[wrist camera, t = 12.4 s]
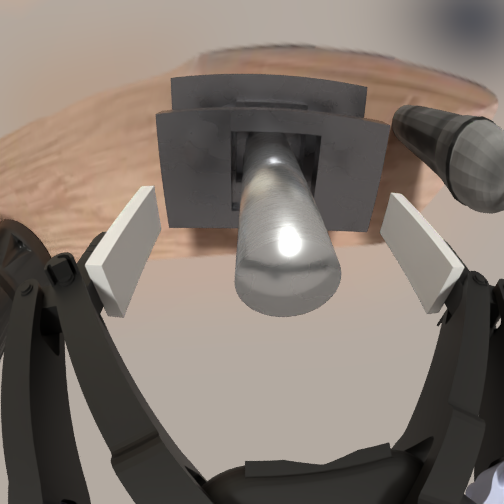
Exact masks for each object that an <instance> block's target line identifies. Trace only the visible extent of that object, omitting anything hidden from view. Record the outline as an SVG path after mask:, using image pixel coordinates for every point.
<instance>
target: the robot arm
mask: <svg viewBox="0 0 504 504" xmlns="http://www.w3.org/2000/svg"><path fill="white" fill-rule="evenodd" d="M160 231H161V224H160V218H159V213H158V207H157V201H156V194H155V187H154V186H141V188H140V189H139V190H138V191H137V192H136V194H135V195H134V196H133V197H132V199H131V200H130V201H129V203H128V204H127V205H126V206H125V208H124V209H123V210H122V212H121V213H120V214H119V216H118V217H117V218H116V220H115V221H114V223H113V224H112V225H111V227H110V228H109V229H108V231H107V232H102V233H100V234H99V235H98V236H96V237H95V238H94V239H93V241H92V242H91V243H90V245H89V247H88V248H87V249H86V251H85V252H84V254H83V255H82V256H81V258H80V259H79V261H78V262H77V264H76V262H75V259H74V257H73V255H72V254H71V253H68V252H67V253H60V254H58V255H56V256H54V257H52V258H50V256H49V254H48V252H47V250H46V249H45V247H44V246H43V244H42V243H41V241H40V240H39V239H38V238H37V237H36V236H35V235H34V233H33V232H31V231H30V230H29V229H28V228H27V227H26V226H24V225H23V224H21V223H19V222H17V221H14V220H4V221H2V222H1V223H0V359H1V357H2V355H3V353H4V358H3V369H2V385H1V419H2V420H1V422H2V438H3V448H4V455H5V462H6V469H7V475H8V480H9V486H8V504H91V502H90V497H89V492H88V489H87V485H86V481H85V478H84V475H83V471H82V467H81V463H80V459H79V455H78V451H77V447H76V442H75V437H74V432H73V426H72V420H71V414H70V407H69V400H68V391H67V380H66V366H65V342H66V345H67V349H68V352H69V355H70V359H71V362H72V365H73V367H74V370H75V373H76V376H77V379H78V382H79V384H80V387H81V389H82V392H83V394H84V397H85V399H86V402H87V404H88V406H89V409H90V411H91V413H92V415H93V417H94V420H95V422H96V424H97V426H98V428H99V430H100V432H101V434H102V436H103V438H104V440H105V442H106V444H107V445H108V447H109V449H110V451H111V454H112V458H111V464H112V467H113V469H114V471H115V473H116V475H117V476H118V478H119V480H120V481H121V483H122V484H123V486H124V487H125V489H126V490H127V492H128V493H129V495H130V496H131V498H132V499H133V501H134V502H135V503H136V504H504V279H499V281H498V282H497V284H496V286H491V285H489V283H488V281H487V280H486V279H485V277H484V276H483V275H481V274H480V273H478V272H476V271H469V270H468V268H467V267H466V266H465V264H464V263H463V262H462V260H461V259H460V258H459V257H458V256H457V254H456V253H455V251H454V250H453V249H452V248H451V246H450V245H449V244H448V243H447V242H446V241H445V240H443V239H442V238H441V237H440V235H439V234H438V233H437V232H436V231H435V230H434V228H433V227H432V226H431V225H430V224H429V223H428V222H427V220H426V219H425V218H424V217H423V216H422V215H421V214H420V213H419V212H418V210H417V209H416V208H415V207H414V206H413V205H412V204H411V203H410V202H409V201H408V200H407V199H406V198H405V197H404V196H403V195H402V194H399V193H391V194H390V198H389V202H388V206H387V209H386V213H385V216H384V220H383V223H382V227H381V230H380V234H381V236H382V237H383V239H384V240H385V242H386V243H387V245H388V246H389V248H390V249H391V251H392V252H393V254H394V256H395V258H396V259H397V261H398V263H399V264H400V266H401V268H402V269H403V271H404V273H405V275H406V276H407V278H408V280H409V282H410V283H411V285H412V287H413V289H414V291H415V292H416V294H417V296H418V298H419V300H420V302H421V304H422V306H423V307H424V309H425V311H426V313H427V314H432V313H438V312H439V311H440V309H441V307H442V306H443V304H444V303H445V305H446V307H447V310H446V312H445V313H444V315H443V316H442V318H441V319H440V321H439V322H438V324H437V326H439V325H440V323H442V325H441V329H440V334H439V338H438V341H437V345H436V349H435V353H434V356H433V360H432V363H431V366H430V369H429V372H428V375H427V378H426V381H425V384H424V387H423V390H422V392H421V395H420V398H419V400H418V403H417V405H416V408H415V410H414V413H413V415H412V417H411V420H410V422H409V424H408V426H407V429H406V430H405V432H404V434H403V435H402V437H401V438H400V439H399V440H398V441H397V442H396V444H395V445H394V446H393V448H392V449H391V448H390V444H389V443H386V444H382V445H378V446H374V447H369V448H365V449H361V450H357V451H355V452H353V453H351V454H349V455H346V456H344V457H342V458H339V459H337V460H335V461H333V462H330V463H327V464H324V465H318V464H309V463H301V462H293V461H286V460H277V461H245V466H240V467H236V468H233V469H229V470H227V471H225V472H222V473H220V474H218V475H216V476H215V477H213V478H211V479H210V480H209V481H207V480H206V479H205V478H204V477H203V476H202V475H201V474H200V472H199V471H198V470H197V469H196V468H195V467H194V466H193V464H192V463H191V462H190V461H189V460H188V459H187V458H186V456H185V455H184V454H183V453H182V452H181V451H180V449H179V448H178V447H177V445H176V444H175V443H174V441H173V440H172V439H171V437H170V436H169V435H168V433H167V432H166V430H165V429H164V427H163V426H162V425H161V423H160V422H159V420H158V419H157V417H156V416H155V414H154V413H153V411H152V410H151V408H150V407H149V405H148V403H147V402H146V400H145V398H144V397H143V395H142V394H141V392H140V390H139V389H138V387H137V385H136V383H135V382H134V380H133V378H132V376H131V375H130V373H129V371H128V369H127V367H126V366H125V364H124V362H123V360H122V358H121V356H120V354H119V352H118V350H117V348H116V346H115V344H114V342H113V340H112V338H111V336H110V334H109V332H108V330H107V327H106V325H105V323H104V321H103V318H102V317H101V315H100V313H101V311H102V309H103V307H104V309H105V311H106V313H107V315H108V316H113V317H122V318H124V316H125V313H126V310H127V308H128V305H129V303H130V300H131V297H132V295H133V293H134V290H135V288H136V285H137V283H138V280H139V278H140V275H141V273H142V271H143V269H144V266H145V264H146V262H147V259H148V257H149V255H150V253H151V250H152V248H153V246H154V244H155V242H156V240H157V237H158V235H159V233H160ZM500 318H501V325H500V326H499V327H498V328H497V329H496V324H497V322H498V321H499V319H500ZM478 416H479V417H478ZM473 468H474V483H471V484H470V485H469V486H468V487H467V485H468V482H469V479H470V477H471V474H472V471H473ZM466 487H467V489H466ZM465 489H466V495H464V492H465ZM470 498H471V499H470Z"/></svg>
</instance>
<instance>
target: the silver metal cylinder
mask: <svg viewBox="0 0 504 504" xmlns="http://www.w3.org/2000/svg"><path fill="white" fill-rule="evenodd" d="M235 269H236V270H235V288H236V292H237V294H238V295H239V297H240V299H241V300H242V301H243V302H244V303H245V304H246V305H247V306H249V307H250V308H251V309H253V310H255V311H257V312H259V313H262V314H265V315H269V316H276V317H289V316H297V315H301V314H305V313H308V312H310V311H313V310H315V309H316V308H318V307H320V306H321V305H323V304H324V303H326V301H328V300H329V299H330V298H331V297H332V296H333V294H334V293H335V292H336V290H337V288H338V286H339V283H340V279H341V268H340V264H339V261H338V259H337V256H336V253H335V251H334V248H333V245H332V243H331V240H330V237H329V235H328V232H327V230H326V227H325V225H324V222H323V220H322V217H321V215H320V213H319V210H318V208H317V205H316V203H315V201H314V198H313V196H312V194H311V191H310V189H309V187H308V184H307V182H306V180H305V178H304V175H303V173H302V171H301V169H300V167H299V164H298V162H297V160H296V158H295V156H294V154H293V152H292V149H291V147H290V145H289V143H288V141H287V139H286V137H285V135H284V134H283V133H280V132H251V133H250V135H249V136H248V138H247V140H246V144H245V155H244V167H243V178H242V190H241V202H240V215H239V228H238V241H237V254H236V268H235Z"/></svg>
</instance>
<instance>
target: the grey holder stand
mask: <svg viewBox="0 0 504 504" xmlns="http://www.w3.org/2000/svg"><path fill="white" fill-rule="evenodd" d="M171 95H172V110H167V111H161V112H159V113H157V114H156V125H157V137H158V147H159V157H160V166H161V174H162V182H163V189H164V197H165V204H166V210H167V217H168V223H169V228H239V215H240V202H241V190H242V178H243V167H244V155H245V144H246V140H247V138H248V136H249V135H250V133H251V132H280V133H283V134H284V135H285V137H286V139H287V141H288V143H289V145H290V147H291V149H292V152H293V154H294V156H295V158H296V160H297V162H298V164H299V167H300V169H301V171H302V173H303V175H304V178H305V180H306V182H307V184H308V187H309V189H310V191H311V194H312V196H313V198H314V201H315V203H316V205H317V208H318V210H319V213H320V215H321V217H322V220H323V222H324V225H325V227H326V230H327V231H353V232H367V231H368V227H369V223H370V220H371V216H372V212H373V208H374V204H375V200H376V196H377V192H378V187H379V183H380V178H381V174H382V169H383V164H384V159H385V154H386V148H387V143H388V137H389V131H390V125H388V124H386V123H384V122H382V121H378V120H373V119H367V118H364V113H365V104H366V95H367V87H364V86H359V85H354V84H349V83H343V82H337V81H330V80H323V79H315V78H307V77H297V76H284V75H266V74H216V75H198V76H186V77H176V78H171Z"/></svg>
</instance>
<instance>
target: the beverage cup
mask: <svg viewBox="0 0 504 504" xmlns="http://www.w3.org/2000/svg"><path fill="white" fill-rule="evenodd" d="M392 127H393V131H394V134H395V136H396V137H397V138H398V139H399V141H401V142H402V143H403V144H404V145H405V146H406V147H407V148H408V149H409V150H410V151H412V152H413V153H414V154H415V155H416V156H417V157H419V158H420V159H421V160H422V161H423V162H424V163H425V164H426V165H427V166H428V167H430V168H431V169H432V170H433V171H434V172H435V173H436V174H437V175H438V176H439V177H440V178H441V179H442V181H443V182H444V184H445V185H446V186H447V188H448V189H449V191H450V192H451V194H452V195H453V197H454V199H456V200H457V201H459V202H460V203H461V204H463V205H465V206H468V207H469V208H471V209H473V210H475V211H478V212H483V213H497V212H500V211H503V210H504V130H503V129H502V128H500V127H499V126H497V125H496V124H495V123H494V122H493V121H492V120H489V119H487V118H485V117H477V116H470V115H459V114H455V113H451V112H446V111H442V110H437V109H433V108H427V107H422V106H412V105H405V106H402V107H401V108H399V109H398V110H397V111H396V112H395V115H394V117H393V122H392Z"/></svg>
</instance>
